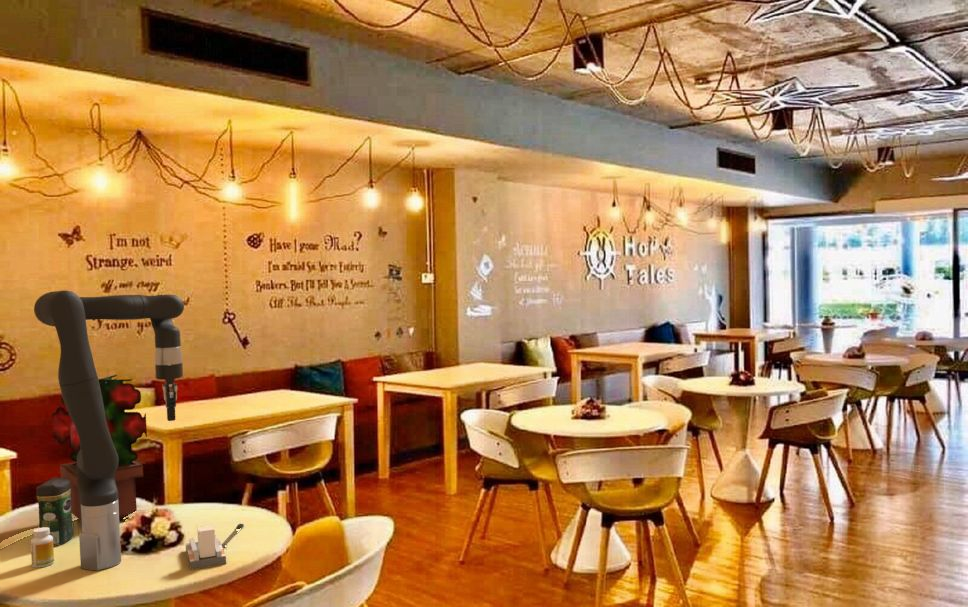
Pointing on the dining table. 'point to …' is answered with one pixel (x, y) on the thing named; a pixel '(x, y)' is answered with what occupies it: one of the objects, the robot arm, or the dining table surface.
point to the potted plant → (123, 435)
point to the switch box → (199, 562)
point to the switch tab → (206, 541)
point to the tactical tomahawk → (231, 535)
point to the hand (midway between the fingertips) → (171, 420)
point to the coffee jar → (56, 509)
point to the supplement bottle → (42, 548)
